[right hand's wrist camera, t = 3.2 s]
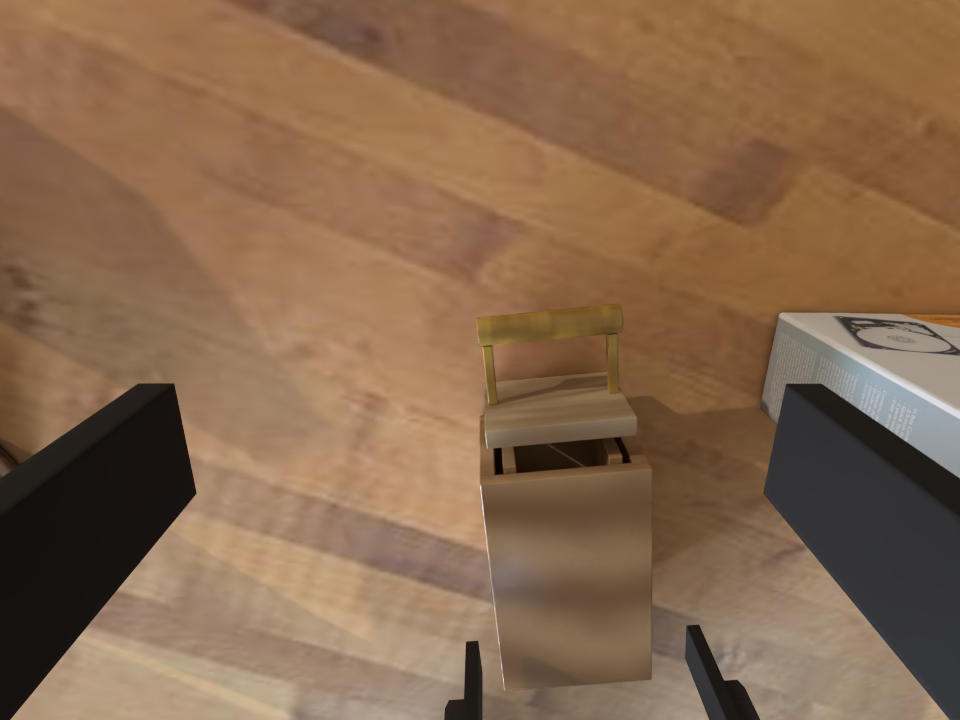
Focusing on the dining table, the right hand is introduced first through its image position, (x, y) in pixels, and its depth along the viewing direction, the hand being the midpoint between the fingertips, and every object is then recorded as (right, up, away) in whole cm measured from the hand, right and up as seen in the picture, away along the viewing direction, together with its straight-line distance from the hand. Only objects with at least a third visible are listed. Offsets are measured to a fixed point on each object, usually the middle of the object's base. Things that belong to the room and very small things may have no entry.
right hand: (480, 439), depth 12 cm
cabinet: (+6, -9, +31) cm, 33 cm away
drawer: (+5, -4, +28) cm, 29 cm away
